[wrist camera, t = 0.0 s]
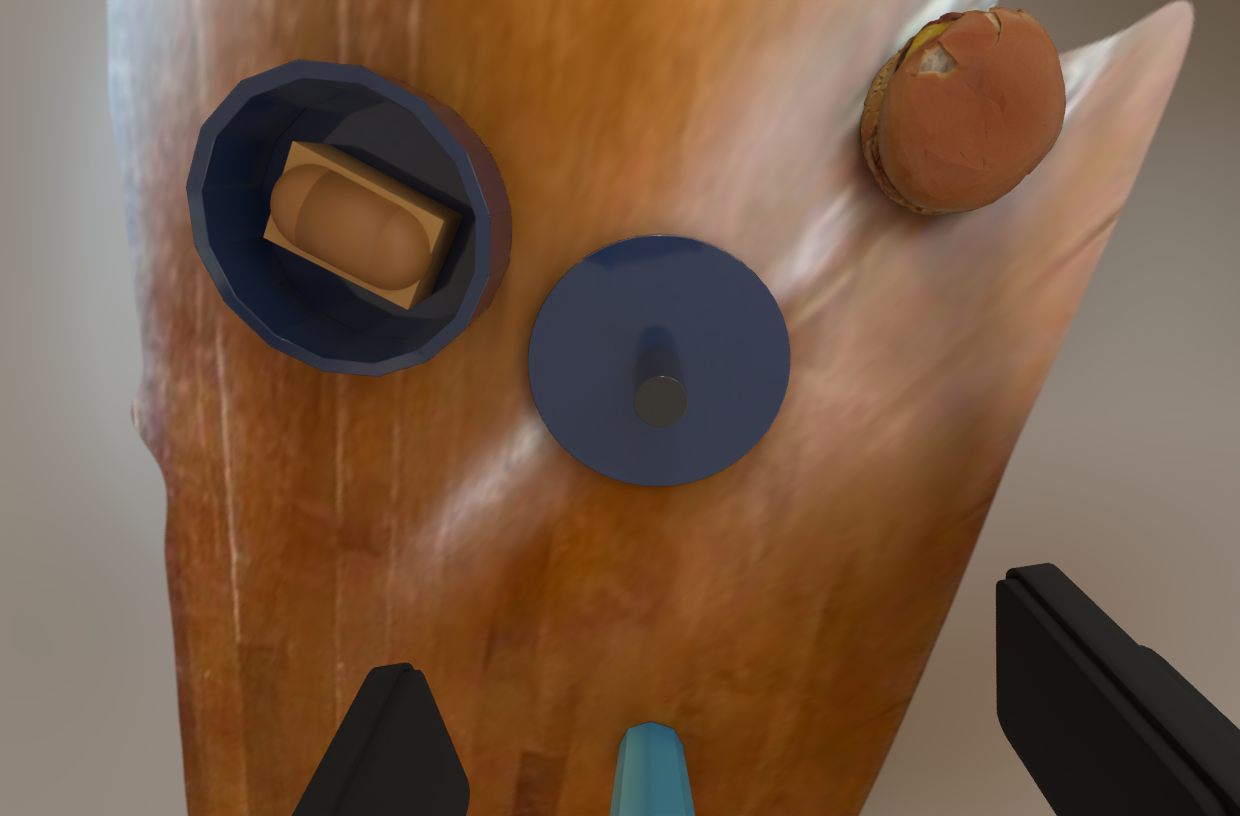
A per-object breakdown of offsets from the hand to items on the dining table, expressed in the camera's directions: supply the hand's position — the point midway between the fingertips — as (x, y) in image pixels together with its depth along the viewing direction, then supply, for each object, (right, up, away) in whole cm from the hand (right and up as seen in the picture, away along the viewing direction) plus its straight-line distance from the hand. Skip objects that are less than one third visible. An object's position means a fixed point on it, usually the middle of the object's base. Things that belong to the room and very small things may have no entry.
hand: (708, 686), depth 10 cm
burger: (+17, +21, +25) cm, 37 cm away
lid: (+1, +7, +30) cm, 31 cm away
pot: (-16, +16, +28) cm, 36 cm away
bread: (-16, +16, +27) cm, 35 cm away
